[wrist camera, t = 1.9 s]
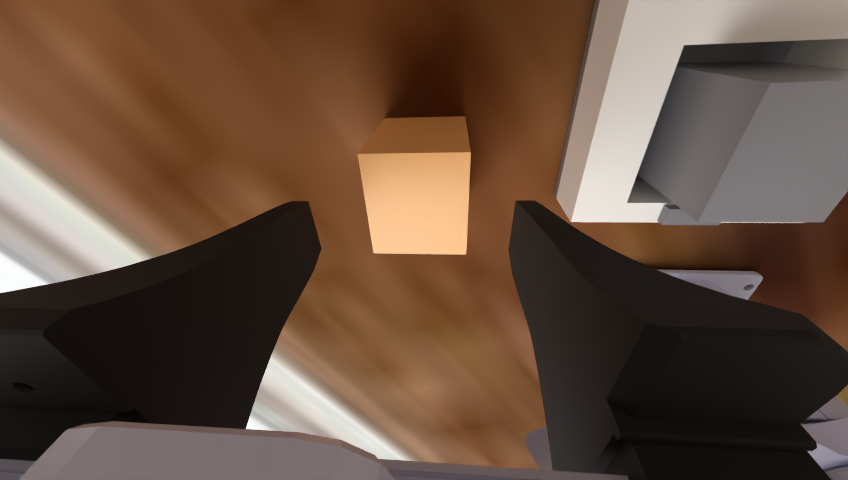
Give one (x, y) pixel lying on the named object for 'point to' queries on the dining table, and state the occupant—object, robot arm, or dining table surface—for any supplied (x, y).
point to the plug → (417, 185)
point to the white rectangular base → (709, 113)
